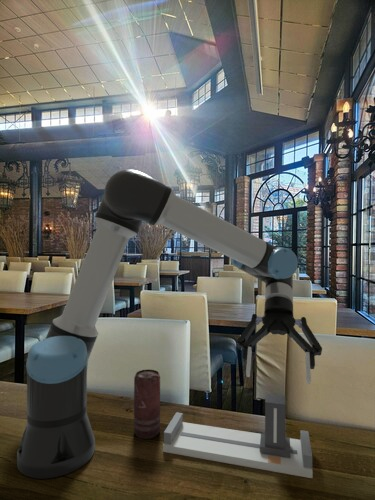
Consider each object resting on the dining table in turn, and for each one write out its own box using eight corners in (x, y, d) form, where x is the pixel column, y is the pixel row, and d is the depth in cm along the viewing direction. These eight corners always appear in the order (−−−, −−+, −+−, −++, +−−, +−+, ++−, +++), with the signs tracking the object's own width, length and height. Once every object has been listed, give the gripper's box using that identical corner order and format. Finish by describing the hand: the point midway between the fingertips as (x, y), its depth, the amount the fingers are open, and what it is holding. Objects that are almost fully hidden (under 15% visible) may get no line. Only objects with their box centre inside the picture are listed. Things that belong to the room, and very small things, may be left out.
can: (156, 441, 74) (157, 379, 74) (130, 438, 75) (130, 376, 75) (164, 427, 80) (164, 369, 80) (139, 424, 81) (139, 367, 81)
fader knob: (259, 452, 67) (260, 402, 67) (261, 438, 72) (261, 392, 72) (290, 457, 66) (290, 406, 66) (289, 443, 71) (289, 395, 71)
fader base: (163, 451, 70) (163, 433, 70) (176, 427, 80) (177, 411, 80) (312, 478, 62) (312, 457, 62) (307, 447, 72) (308, 430, 72)
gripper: (326, 313, 90) (333, 391, 76) (234, 308, 97) (225, 378, 82) (329, 297, 85) (337, 376, 70) (232, 292, 92) (222, 364, 77)
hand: (277, 377), depth 76 cm, fingers open, 13 cm apart
